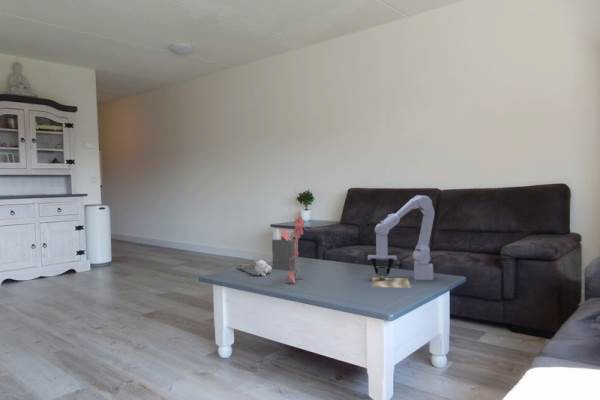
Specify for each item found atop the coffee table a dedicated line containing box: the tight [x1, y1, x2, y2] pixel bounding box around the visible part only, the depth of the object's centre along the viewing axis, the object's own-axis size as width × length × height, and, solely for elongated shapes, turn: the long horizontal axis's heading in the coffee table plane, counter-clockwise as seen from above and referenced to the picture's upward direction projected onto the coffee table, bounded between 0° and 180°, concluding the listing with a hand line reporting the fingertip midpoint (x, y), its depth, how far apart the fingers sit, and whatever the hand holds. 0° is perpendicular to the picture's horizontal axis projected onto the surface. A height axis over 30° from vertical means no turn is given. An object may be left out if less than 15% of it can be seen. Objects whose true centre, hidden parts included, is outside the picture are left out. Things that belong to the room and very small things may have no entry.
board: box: [371, 277, 412, 289], centre depth 212 cm, size 18×20×1 cm
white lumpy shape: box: [255, 259, 273, 277], centre depth 242 cm, size 6×8×12 cm
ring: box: [376, 265, 389, 277], centre depth 218 cm, size 6×6×4 cm
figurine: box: [279, 215, 315, 286], centre depth 222 cm, size 15×26×35 cm, turn 157°
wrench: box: [236, 260, 259, 276], centre depth 249 cm, size 8×2×30 cm
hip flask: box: [271, 235, 296, 272], centre depth 257 cm, size 16×4×20 cm, turn 56°
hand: (382, 273), depth 218 cm, fingers closed on ring, 6 cm apart
